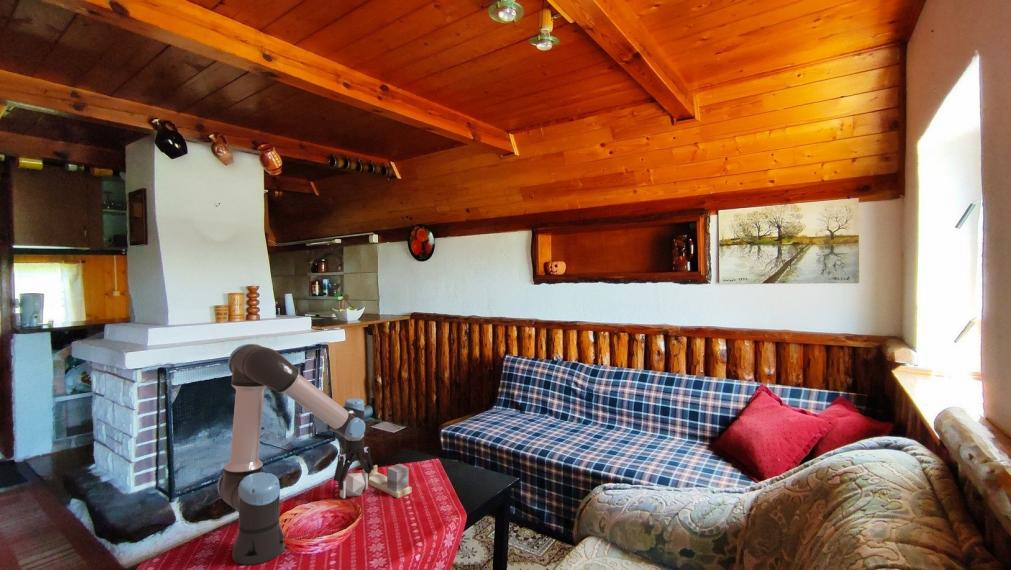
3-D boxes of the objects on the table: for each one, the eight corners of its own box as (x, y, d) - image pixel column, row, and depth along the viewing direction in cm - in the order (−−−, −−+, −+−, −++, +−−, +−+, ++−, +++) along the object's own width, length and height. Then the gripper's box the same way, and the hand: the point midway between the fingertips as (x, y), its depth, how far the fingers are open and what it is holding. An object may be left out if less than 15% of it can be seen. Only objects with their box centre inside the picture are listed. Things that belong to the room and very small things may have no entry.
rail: (398, 498, 196) (398, 473, 196) (362, 481, 212) (362, 458, 211) (411, 492, 202) (411, 468, 202) (375, 476, 217) (376, 453, 217)
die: (355, 503, 193) (370, 478, 197) (335, 491, 193) (350, 467, 197) (357, 501, 201) (371, 478, 205) (338, 490, 201) (352, 467, 205)
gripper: (334, 447, 187) (334, 505, 188) (383, 433, 205) (382, 486, 205) (323, 442, 192) (323, 499, 193) (372, 429, 209) (371, 481, 210)
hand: (354, 492), depth 199 cm, fingers closed on die, 10 cm apart
